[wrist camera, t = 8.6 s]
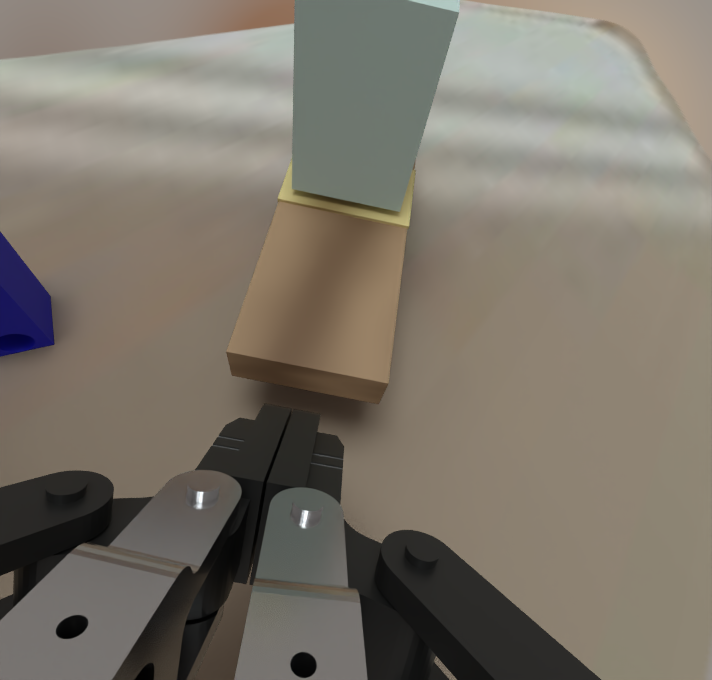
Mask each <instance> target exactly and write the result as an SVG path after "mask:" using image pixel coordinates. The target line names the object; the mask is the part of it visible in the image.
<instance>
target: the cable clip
mask: <svg viewBox="0 0 712 680" xmlns="http://www.w3.org/2000/svg"><path fill="white" fill-rule="evenodd" d="M50 345H54V335H53V322H52V310H51V297H50V295H49V294H48V292H47V291H46V290H45V289H44V287H43V286H42V285H41V283H40V282H39V281H38V280H37V278H36V277H35V276H34V274H33V273H32V272H31V271H30V269H29V268H28V267H27V265H26V264H25V263H24V261H23V260H22V259H21V258H20V256H19V255H18V254H17V252H16V251H15V250H14V249H13V247H12V246H11V245H10V243H9V242H8V241H7V240H6V238H5V237H4V236H3V234H2V233H1V232H0V357H1V356H5V355H9V354H14V353H18V352H23V351H27V350H32V349H36V348H41V347H45V346H50Z"/></svg>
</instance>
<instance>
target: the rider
mask: <svg viewBox="0 0 712 680" xmlns="http://www.w3.org/2000/svg"><path fill="white" fill-rule="evenodd" d="M459 5H460V0H295V22H294V81H293V143H292V189H295V190H299V191H304V192H309V193H313V194H318V195H323V196H328V197H332V198H337V199H342V200H346V201H351V202H356V203H360V204H365V205H370V206H374V207H379V208H384V209H388V210H393V211H398V212H400V210H401V206H402V203H403V200H404V196H405V193H406V190H407V186H408V183H409V180H410V176H411V173H412V169H413V166H414V163H415V159H416V156H417V153H418V149H419V146H420V142H421V139H422V136H423V132H424V129H425V126H426V122H427V119H428V115H429V112H430V109H431V105H432V102H433V99H434V95H435V92H436V89H437V85H438V82H439V78H440V75H441V72H442V68H443V65H444V62H445V58H446V55H447V51H448V48H449V45H450V41H451V38H452V35H453V31H454V28H455V24H456V21H457V18H458V14H459Z"/></svg>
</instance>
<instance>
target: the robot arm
mask: <svg viewBox="0 0 712 680" xmlns="http://www.w3.org/2000/svg"><path fill="white" fill-rule="evenodd" d="M291 412H292V409H291V408H285V407H280V406H275V405H269V404H264V405H263V407H262V408H261V410H260V412H259V414H258V416H257V418H256V419H255V420H249V419H244V418H238V419H237V420H235V421H233V422H231V423H229V424H227V425H226V426H225V427H224V428H223V430H222V431H221V433H220V434H219V437H217V439H216V440H215V442H214V443H213V446H211V447H210V449H209V450H208V452H207V453H206V455H205V456H204V458H203V459H202V461H201V462H200V464H199V465H198V466H197V468H196V469H195V471H189V472H185V473H182V474H179V475H177V476H175V477H173V478H172V479H170V480H169V481H168V482H167V483H166V484H165V485H164V486H163V487H162V489H161V490H160V491H159V492H158V493H157V494H156V495H155V496H154V497H146V498H120V499H113V491H114V487H113V484H112V482H111V481H110V480H109V479H108V478H107V477H105V476H103V475H101V474H98V473H94V472H90V471H64V472H58V473H54V474H49V475H46V476H42V477H38V478H34V479H31V480H27V481H23V482H20V483H16V484H12V485H8V486H5V487H1V488H0V576H1V575H3V574H6V573H8V572H11V571H13V570H14V590H13V594H12V595H10V596H8V597H5V598H3V599H1V600H0V680H194V679H195V676H196V674H197V672H198V670H199V668H200V665H201V663H202V661H203V659H204V656H205V654H206V652H207V650H208V647H209V645H210V643H211V641H212V638H213V636H214V634H215V632H216V630H217V627H218V625H219V623H220V621H221V618H222V615H223V609H224V603H225V601H226V600H227V598H228V596H229V593H230V590H231V587H232V585H233V582H237V583H243V584H246V583H247V580H248V577H249V574H250V570H251V567H252V564H253V567H252V573H251V579H250V585H253V588H252V593H251V598H250V603H249V608H248V613H247V618H246V623H245V629H244V634H243V639H242V644H241V649H240V654H239V659H238V664H237V669H236V674H235V679H234V680H449V679H448V678H447V676H446V675H445V674H444V673H443V672H442V671H441V669H440V668H439V667H438V666H437V665H436V664H435V663H434V659H435V656H437V657H438V658H439V659H440V660H441V662H442V663H443V664H444V665H445V666H446V667H447V668H448V670H449V671H450V672H451V673H452V674H453V675H454V676H455V678H456V679H457V680H601V679H600V678H599V677H598V676H596V675H595V674H594V673H593V672H592V671H591V670H589V669H588V668H587V667H586V666H585V665H584V664H583V663H581V662H580V661H579V660H578V659H577V658H576V657H574V656H573V655H572V654H571V653H570V652H569V651H568V650H566V649H565V648H564V647H563V646H562V645H561V644H559V643H558V642H557V641H556V640H555V639H554V638H553V637H551V636H550V635H549V634H548V633H547V632H546V631H544V630H543V629H542V628H541V627H540V626H539V625H538V624H536V623H535V622H534V621H533V620H532V619H531V618H529V617H528V616H527V615H526V614H525V613H524V612H523V611H521V610H520V609H519V608H518V607H517V606H516V605H514V604H513V603H512V602H511V601H510V600H509V599H508V598H506V597H505V596H504V595H503V594H502V593H501V592H499V591H498V590H497V589H496V588H495V587H494V586H493V585H491V584H490V583H489V582H488V581H487V580H486V579H484V578H483V577H482V576H481V575H480V574H479V573H478V572H476V571H475V570H474V569H473V568H472V567H471V566H469V565H468V564H467V563H466V562H465V561H464V560H463V559H461V558H460V557H459V556H458V555H457V554H456V553H454V552H453V551H452V550H451V549H450V548H449V547H448V546H446V545H445V544H444V543H443V542H441V541H440V540H438V539H436V538H435V537H432V536H430V535H428V534H425V533H422V532H419V531H413V530H400V531H396V532H393V533H391V534H389V535H388V536H387V537H386V538H385V539H384V540H383V543H382V544H381V543H379V542H377V541H374V540H372V539H370V538H367V537H365V536H363V535H361V534H360V533H358V532H357V531H355V530H354V529H353V528H352V527H350V526H349V524H348V523H347V522H346V521H345V520H344V514H343V510H342V507H341V506H340V500H341V485H342V468H343V455H344V446H343V444H342V443H341V441H340V440H339V438H338V437H337V436H335V435H330V434H325V433H319V432H317V430H318V425H319V420H320V414H318V413H312V412H307V411H302V410H296V409H294V410H293V412H292V415H291Z"/></svg>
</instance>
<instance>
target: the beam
mask: <svg viewBox="0 0 712 680" xmlns="http://www.w3.org/2000/svg"><path fill="white" fill-rule="evenodd" d="M415 160H416V159H415ZM414 168H415V163H414V166H413V169H412V173H411V176H410V180H409V183H408V186H407V190H406V193H405V196H404V200H403V203H402V206H401V210H400V212H398V211H393V210H388V209H384V208H379V207H374V206H370V205H365V204H360V203H356V202H351V201H346V200H342V199H337V198H332V197H328V196H323V195H318V194H313V193H309V192H304V191H299V190H295V189H292V159H291V162H290V165H289V168H288V171H287V173H286V176H285V179H284V182H283V185H282V188H281V190H280V193H279V196H278V205H277V208H276V211H275V214H274V216H273V219H272V222H271V225H270V228H269V231H268V234H267V236H266V239H265V242H264V245H263V248H262V251H261V254H260V256H259V259H258V262H257V265H256V268H255V271H254V274H253V276H252V279H251V282H250V285H249V288H248V291H247V294H246V296H245V299H244V302H243V305H242V308H241V311H240V314H239V317H238V319H237V322H236V325H235V328H234V331H233V334H232V337H231V339H230V342H229V345H228V348H227V351H226V353H227V357H228V361H229V365H230V370H231V374H232V376H237V377H242V378H247V379H252V380H257V381H262V382H268V383H273V384H278V385H283V386H288V387H293V388H298V389H304V390H309V391H314V392H319V393H324V394H329V395H334V396H340V397H345V398H350V399H355V400H360V401H365V402H370V403H376V404H379V402H380V400H381V398H382V396H383V394H384V392H385V390H386V388H387V385H388V383H389V375H390V366H391V358H392V350H393V342H394V333H395V325H396V317H397V309H398V300H399V292H400V284H401V276H402V267H403V259H404V251H405V242H406V234H407V229H408V228H409V222H410V214H411V206H412V197H413V189H414V180H415V172H416V170H414Z"/></svg>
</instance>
